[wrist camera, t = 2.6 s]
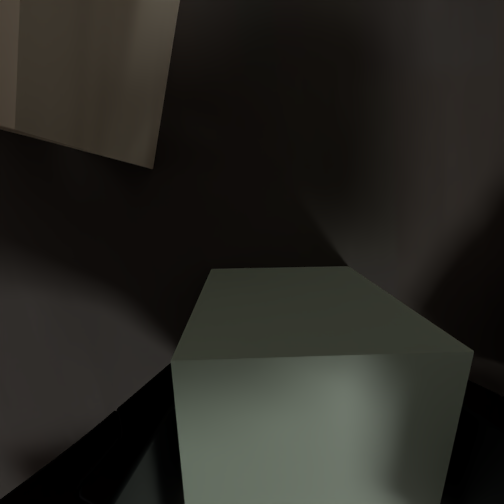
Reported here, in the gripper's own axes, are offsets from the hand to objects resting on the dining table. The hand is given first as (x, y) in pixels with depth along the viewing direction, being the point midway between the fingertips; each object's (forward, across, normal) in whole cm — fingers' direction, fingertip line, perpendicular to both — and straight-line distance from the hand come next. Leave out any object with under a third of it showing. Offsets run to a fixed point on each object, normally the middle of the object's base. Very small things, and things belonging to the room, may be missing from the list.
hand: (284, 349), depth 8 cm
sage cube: (+1, 0, 0) cm, 1 cm away
